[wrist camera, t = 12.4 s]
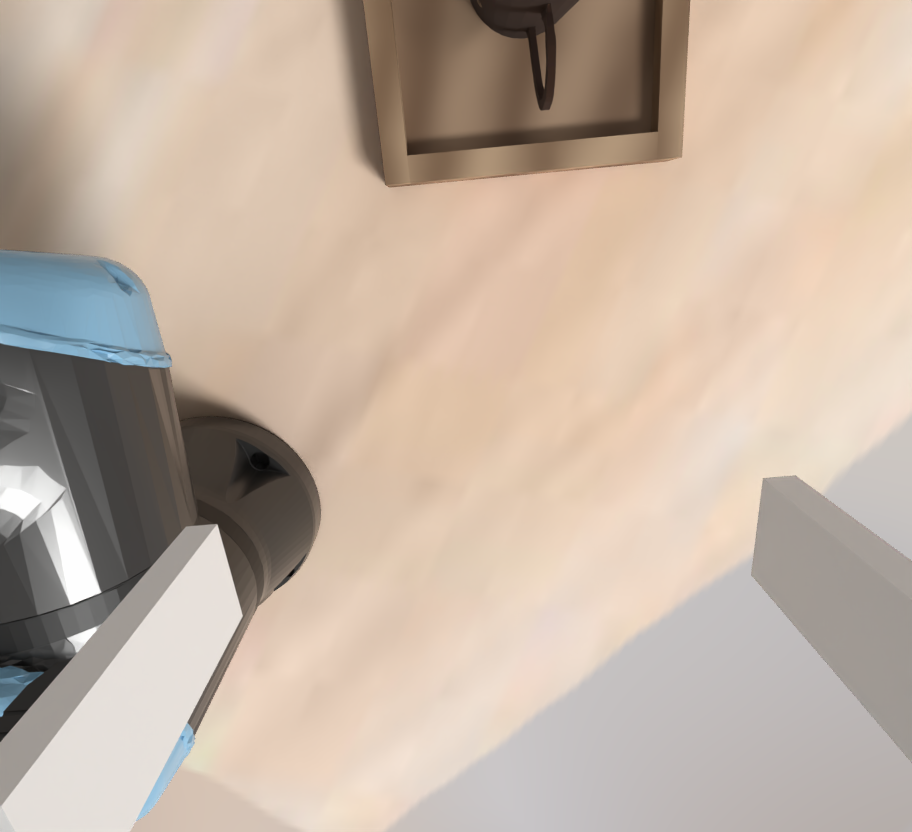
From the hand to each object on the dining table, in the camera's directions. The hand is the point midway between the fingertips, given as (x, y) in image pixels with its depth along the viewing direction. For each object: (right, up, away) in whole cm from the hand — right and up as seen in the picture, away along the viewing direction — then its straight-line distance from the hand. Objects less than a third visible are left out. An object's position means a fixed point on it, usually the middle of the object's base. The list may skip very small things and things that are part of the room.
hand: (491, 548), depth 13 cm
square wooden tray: (+3, +27, +18) cm, 33 cm away
